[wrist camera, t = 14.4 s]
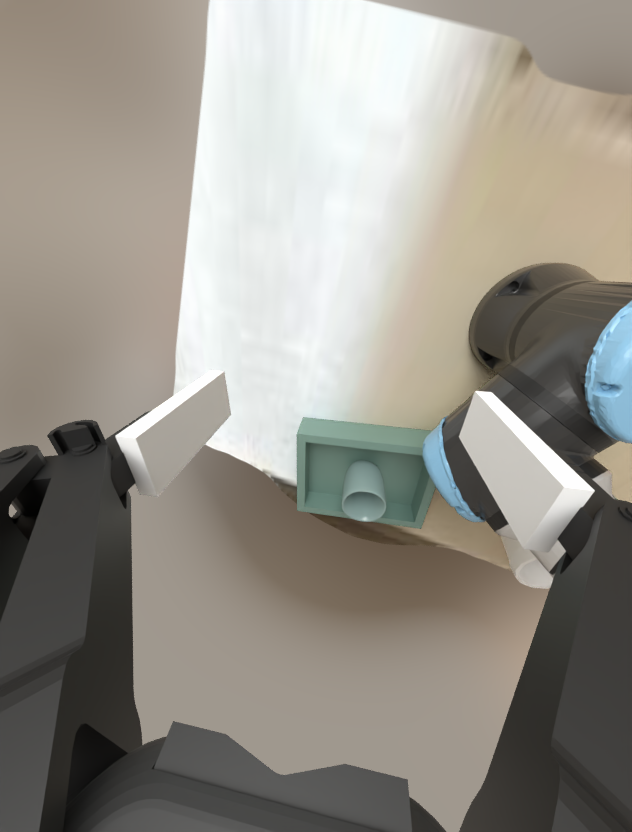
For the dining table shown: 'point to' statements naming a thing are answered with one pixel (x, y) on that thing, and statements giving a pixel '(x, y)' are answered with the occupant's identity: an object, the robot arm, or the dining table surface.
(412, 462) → the tray
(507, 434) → the robot arm
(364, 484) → the cup
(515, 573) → the foam cup
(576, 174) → the dining table surface
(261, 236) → the dining table surface
